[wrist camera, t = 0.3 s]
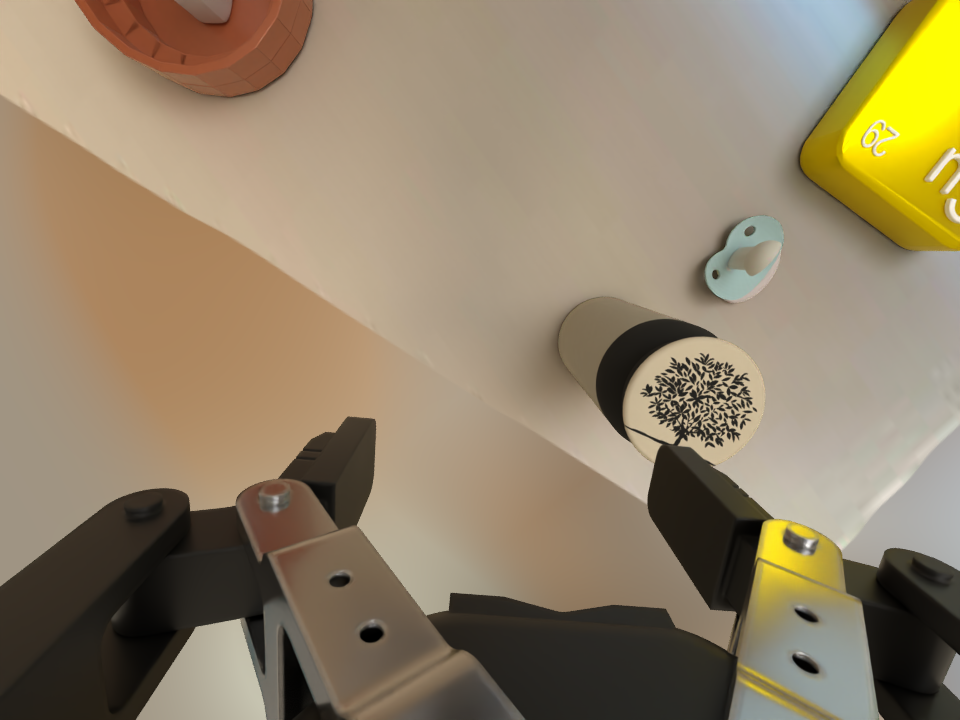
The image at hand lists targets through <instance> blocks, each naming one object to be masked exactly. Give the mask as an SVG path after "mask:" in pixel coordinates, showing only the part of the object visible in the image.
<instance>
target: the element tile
mask: <svg viewBox="0 0 960 720" xmlns="http://www.w3.org/2000/svg"><path fill="white" fill-rule="evenodd" d="M800 165H801V167H802V169H803V171H804V173H805V174H806V175H807V177H808V178H810V179H811V180H812V181H814V182H815V183H816V184H818V185H819V186H820V187H822V188H823V189H824V190H826V191H827V192H828V193H830V194H831V195H832V196H834V197H835V198H836V199H838V200H839V201H840V202H842V203H843V204H844V205H846V206H847V207H848V208H850V209H851V210H852V211H854V212H855V213H856V214H858V215H859V216H860V217H862V218H863V219H864V220H866V221H867V222H868V223H870V224H871V225H873V226H874V227H875V228H877V229H878V230H879V231H881V232H882V233H883V234H885V235H886V236H887V237H889V238H890V239H891V240H893V241H894V242H895V243H897V244H898V245H899V246H901V247H903V248H905V249H908V250H914V251H960V0H912V1H911V2H909V3H908V4H906V5H905V6H904V8H903V9H902V10H901V11H900V12H899V13H898V14H897V16H896V17H895V18H894V20H893V21H892V23H891V24H890V25H889V27H888V28H887V30H886V31H885V32H884V34H883V35H882V36H881V38H880V39H879V41H878V42H877V43H876V45H875V46H874V47H873V49H872V50H871V52H870V53H869V54H868V56H867V57H866V59H865V60H864V61H863V63H862V64H861V65H860V67H859V68H858V70H857V71H856V72H855V74H854V75H853V77H852V78H851V79H850V81H849V82H848V83H847V85H846V86H845V88H844V89H843V90H842V92H841V93H840V95H839V96H838V97H837V99H836V100H835V101H834V103H833V104H832V106H831V107H830V108H829V110H828V111H827V113H826V114H825V115H824V117H823V118H822V119H821V121H820V122H819V124H818V125H817V126H816V128H815V129H814V130H813V132H812V133H811V135H810V136H809V137H808V139H807V140H806V142H805V143H804V146H803V148H802V151H801V155H800Z"/></svg>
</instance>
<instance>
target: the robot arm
mask: <svg viewBox="0 0 960 720" xmlns="http://www.w3.org/2000/svg"><path fill="white" fill-rule="evenodd" d="M375 440H376V421H375V419H370V418H359V417H347V418H346V419H345V421H344V422H343V423H342V424H341V426H340V427H339V429H338V430H337V431H336V433H331V432H325V433H323V434H321V435H319V436H317V437H315V438H313V439H311V440H310V441H309V442H308V444H307V445H306V446H305V447H304V448H303V451H301V452H300V453H299V454H298V456H297V457H296V459H294V460H293V461H292V463H291V464H290V465H289V466H288V467H287V468H286V470H285V471H284V472H283V473H282V474H281V476H280V477H279V478H278V479H273V480H268V481H263V482H260V483H257V484H254V485H252V486H250V487H248V488H247V489H245V490H244V491H242V492H241V493H240V494H239V495H238V497H237V499H236V506H232V507H226V508H219V509H208V510H199V511H190V504H189V497H188V496H187V494H185V493H184V492H182V491H179V490H175V489H167V488H160V489H150V490H144V491H139V492H135V493H132V494H129V495H126V496H123V497H121V498H118V499H116V500H114V501H112V502H111V503H109V504H107V505H106V506H104V507H103V508H102V509H101V510H99V511H98V512H97V513H95V514H94V515H93V516H92V517H90V518H89V519H88V520H86V521H85V522H84V523H83V524H81V525H80V526H78V527H77V528H76V529H75V530H73V531H72V532H71V533H69V534H68V535H67V536H65V537H64V538H63V539H62V540H60V541H59V542H58V543H56V544H55V545H54V546H52V547H51V548H50V549H49V550H47V551H46V552H45V553H43V554H42V555H41V556H39V557H38V558H37V559H36V560H34V561H33V562H32V563H30V564H29V565H28V566H27V567H25V568H24V569H23V570H21V571H20V572H19V573H17V574H16V575H15V576H13V577H12V578H11V579H10V580H8V581H7V582H6V583H4V584H3V585H2V586H0V720H136V718H137V716H138V715H139V714H140V712H141V711H142V709H143V708H144V706H145V705H146V703H147V702H148V700H149V698H150V697H151V695H152V694H153V692H154V691H155V689H156V688H157V686H158V685H159V683H160V682H161V680H162V679H163V677H164V675H165V674H166V672H167V671H168V669H169V668H170V666H171V665H172V663H173V662H174V660H175V658H176V657H177V655H178V654H179V653H180V651H181V649H182V648H183V646H184V645H185V643H186V642H187V640H188V639H189V637H190V636H191V634H192V633H193V631H194V629H195V627H197V626H203V625H208V624H213V623H219V622H224V621H229V620H235V619H240V618H241V625H242V628H243V632H244V635H245V639H246V642H247V645H248V649H249V652H250V655H251V659H252V662H253V665H254V669H255V672H256V675H257V678H258V682H259V685H260V689H261V692H262V696H263V700H264V705H265V712H266V718H267V720H879V714H880V715H881V716H882V717H883V718H884V720H960V700H959V699H958V698H957V697H956V696H955V695H954V694H953V693H952V692H951V691H950V690H949V689H948V688H947V687H946V686H945V685H944V684H943V681H944V678H945V676H946V674H947V671H948V669H949V667H950V665H951V663H952V661H953V658H954V656H955V654H956V652H957V653H958V654H959V655H960V571H958V570H957V569H955V568H953V567H951V566H949V565H947V564H945V563H943V562H942V561H939V560H937V559H935V558H932V557H929V556H926V555H924V554H921V553H918V552H914V551H910V550H906V549H900V548H890V549H887V550H886V551H885V552H884V555H883V558H882V560H881V563H880V565H879V568H877V567H873V566H869V565H865V564H862V563H858V562H854V561H850V560H846V559H842V553H841V550H840V549H839V547H838V546H837V545H836V544H835V543H834V542H833V541H831V540H830V539H829V538H827V537H826V536H824V535H823V534H821V533H819V532H817V531H815V530H813V529H811V528H809V527H807V526H804V525H801V524H798V523H795V522H792V521H787V520H781V519H774V518H773V517H772V516H771V515H770V514H768V513H767V512H766V511H765V510H764V509H763V508H762V507H761V506H760V505H759V504H758V503H756V502H755V501H754V500H753V499H752V498H749V495H748V494H747V493H745V492H744V491H743V490H742V489H741V488H739V486H738V485H737V484H736V483H735V482H733V481H732V480H731V479H730V478H729V477H728V476H727V475H725V474H723V473H722V472H720V471H718V470H716V469H715V468H713V467H712V466H711V465H710V464H708V463H707V462H706V461H705V460H704V459H703V458H702V457H701V456H700V455H699V454H698V453H697V452H696V451H695V450H693V449H692V448H691V447H685V446H674V445H661V446H660V448H659V449H658V452H657V455H656V460H655V464H654V469H653V474H652V478H651V483H650V487H649V492H648V510H649V514H650V517H651V518H652V520H653V522H654V523H655V525H656V526H657V528H658V529H659V531H660V532H661V534H662V535H663V537H664V539H665V540H666V542H667V543H668V545H669V546H670V548H671V549H672V551H673V552H674V554H675V556H676V557H677V559H678V560H679V562H680V563H681V565H682V566H683V568H684V570H685V571H686V572H687V574H688V576H689V577H690V579H691V580H692V582H693V583H694V585H695V587H696V588H697V590H698V591H699V593H700V594H701V596H702V597H703V599H704V600H705V602H706V603H707V605H708V606H709V608H710V610H722V611H736V613H737V614H736V618H735V621H734V624H733V628H732V632H731V637H730V641H729V645H728V649H727V651H726V650H725V649H723V648H721V647H719V646H718V645H716V644H714V643H712V642H710V641H708V640H706V639H704V638H702V637H700V636H697V635H695V634H692V633H690V632H687V631H684V630H681V629H678V628H676V627H675V625H674V624H673V622H672V620H671V618H670V616H669V614H668V612H667V610H666V609H662V608H648V607H635V606H622V605H610V606H603V607H597V608H590V609H583V610H577V611H570V612H558V611H554V610H550V609H546V608H543V607H539V606H536V605H532V604H528V603H525V602H521V601H517V600H514V599H510V598H506V597H500V596H486V595H473V594H459V593H451V594H450V604H449V611H443V612H438V613H434V614H431V615H427V616H426V615H425V614H424V612H423V611H422V610H421V608H420V607H419V606H418V604H417V603H416V602H415V600H414V599H413V598H412V597H411V595H410V594H409V593H408V591H407V590H406V589H405V587H404V586H403V585H402V583H401V582H400V581H399V580H398V578H397V577H396V576H395V574H394V573H393V572H392V570H391V569H390V568H389V566H388V565H387V564H386V562H385V561H384V560H383V558H382V557H381V556H380V554H379V553H378V552H377V550H376V549H375V548H374V546H373V545H372V544H371V543H370V541H369V540H368V539H367V537H366V536H365V535H364V533H363V532H362V531H361V530H360V528H359V527H357V523H358V521H359V519H360V516H361V514H362V512H363V509H364V507H365V504H366V502H367V499H368V497H369V495H370V492H371V489H372V484H373V477H374V461H375ZM878 712H879V714H878Z"/></svg>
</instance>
